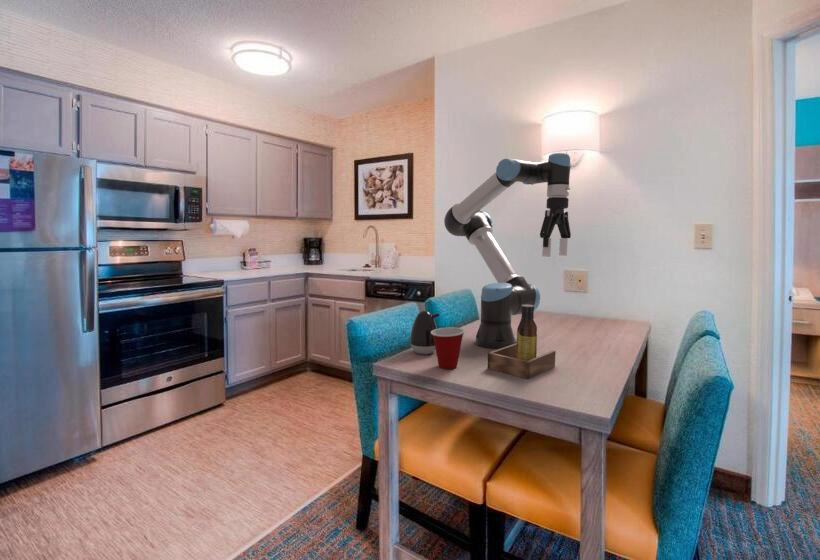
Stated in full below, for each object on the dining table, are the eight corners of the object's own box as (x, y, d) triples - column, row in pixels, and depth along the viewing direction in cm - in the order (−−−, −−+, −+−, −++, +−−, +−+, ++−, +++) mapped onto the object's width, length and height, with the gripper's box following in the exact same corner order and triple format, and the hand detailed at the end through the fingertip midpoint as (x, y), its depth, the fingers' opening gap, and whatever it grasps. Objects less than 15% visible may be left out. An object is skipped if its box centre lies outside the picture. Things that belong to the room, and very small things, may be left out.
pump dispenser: (439, 356, 145) (440, 313, 143) (409, 356, 145) (409, 313, 144) (438, 349, 155) (439, 308, 153) (410, 348, 155) (410, 308, 154)
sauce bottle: (522, 361, 141) (525, 302, 139) (539, 365, 137) (542, 305, 135) (512, 365, 136) (514, 304, 134) (529, 369, 132) (532, 307, 130)
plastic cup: (428, 361, 139) (429, 326, 138) (460, 361, 140) (461, 326, 139) (431, 372, 128) (432, 333, 127) (466, 372, 129) (467, 333, 128)
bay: (487, 368, 133) (487, 352, 132) (516, 356, 146) (516, 342, 145) (527, 379, 123) (528, 362, 123) (554, 365, 136) (555, 350, 136)
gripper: (551, 194, 141) (549, 257, 143) (581, 199, 159) (578, 255, 161) (531, 195, 146) (528, 256, 148) (562, 200, 164) (559, 254, 166)
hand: (554, 256), depth 154 cm, fingers open, 13 cm apart
